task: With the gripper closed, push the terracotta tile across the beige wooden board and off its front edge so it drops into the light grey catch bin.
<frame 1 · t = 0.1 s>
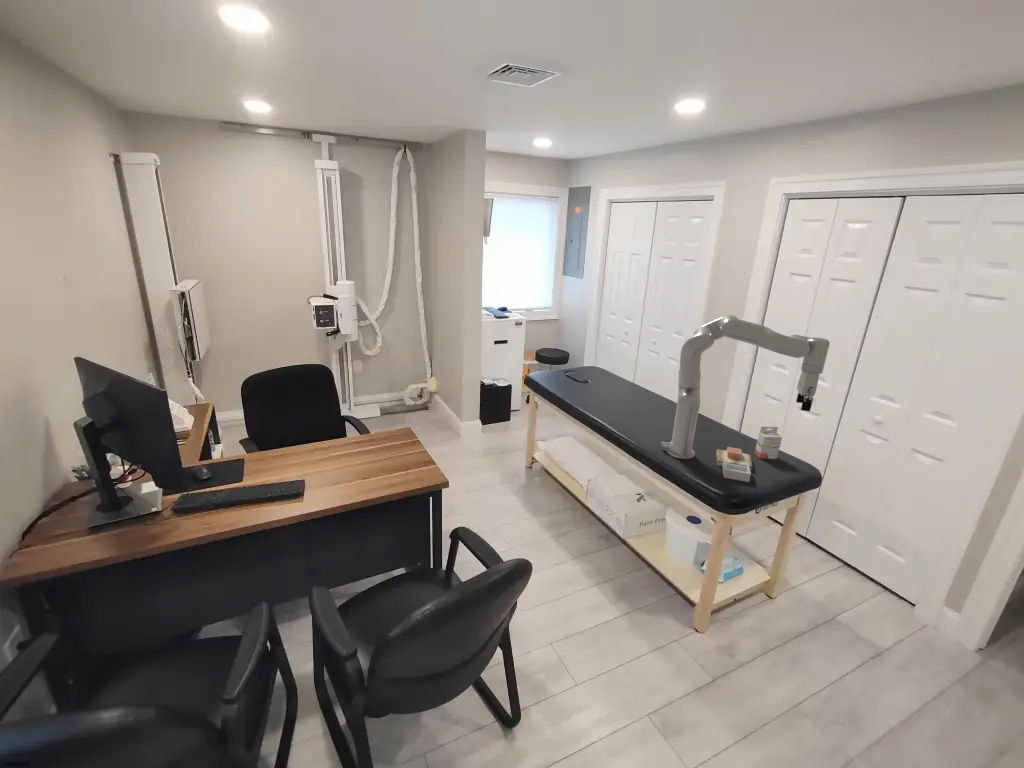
hand: (802, 406, 194), 31 cm above the table, fingers open, 9 cm apart
terracotta tile: (733, 455, 212), point 2 cm above the table, touching beige wooden board
beige wooden board: (733, 462, 211), on the table
catch bin: (735, 474, 201), on the table
ink cartridge box: (765, 457, 217), on the table
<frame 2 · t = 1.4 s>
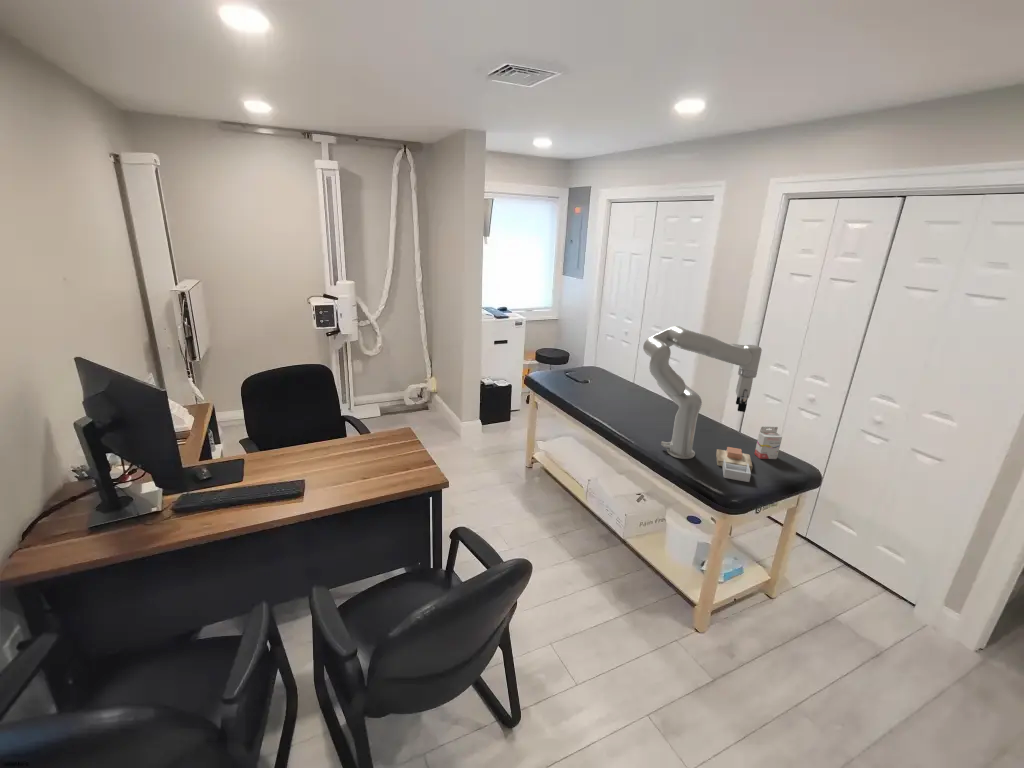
hand: (740, 407, 213), 23 cm above the table, fingers open, 8 cm apart
nothing on the table moved.
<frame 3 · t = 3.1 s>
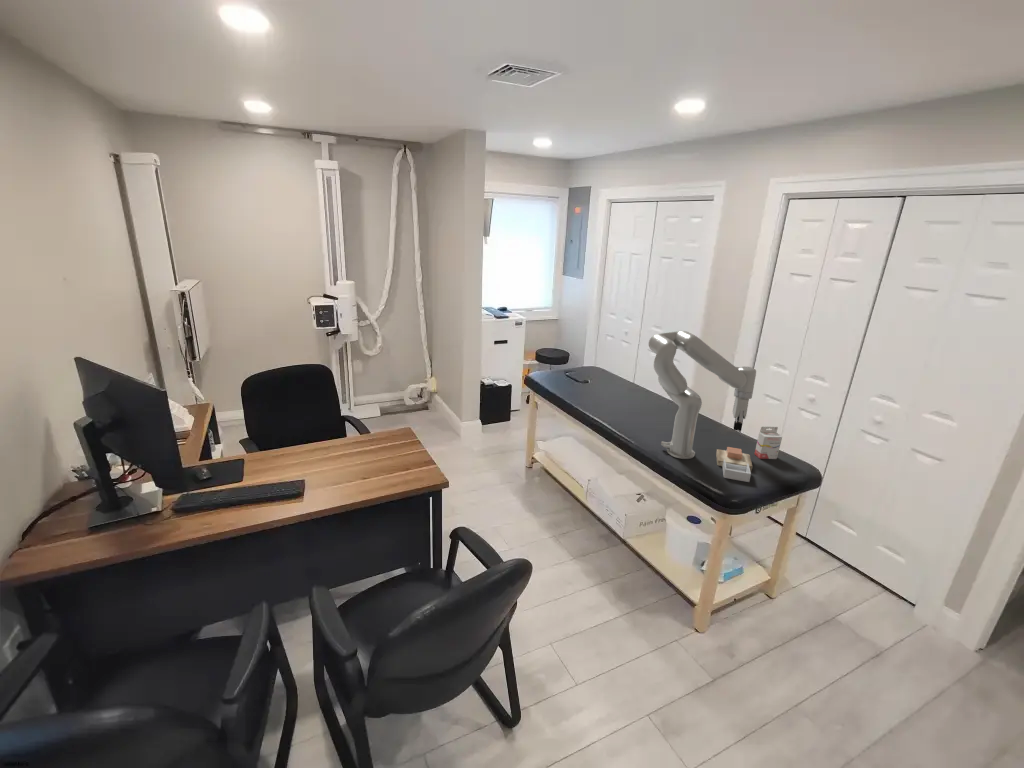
hand: (737, 429, 217), 12 cm above the table, fingers closed
nothing on the table moved.
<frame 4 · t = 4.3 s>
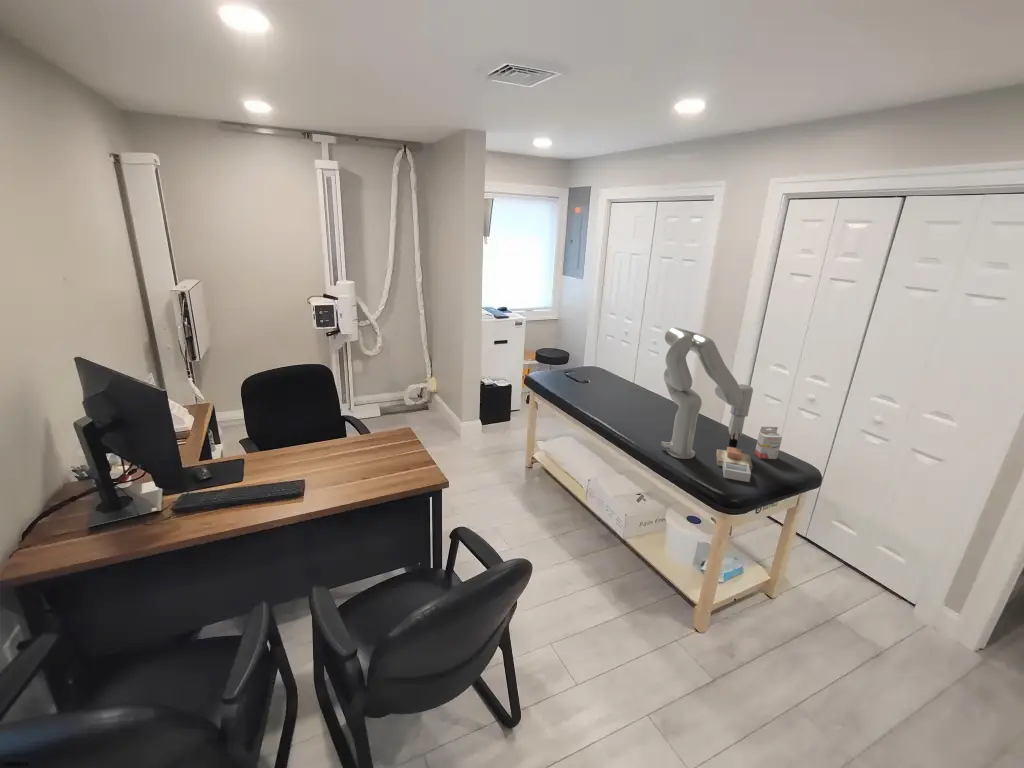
hand: (732, 446, 220), 3 cm above the table, fingers closed
nothing on the table moved.
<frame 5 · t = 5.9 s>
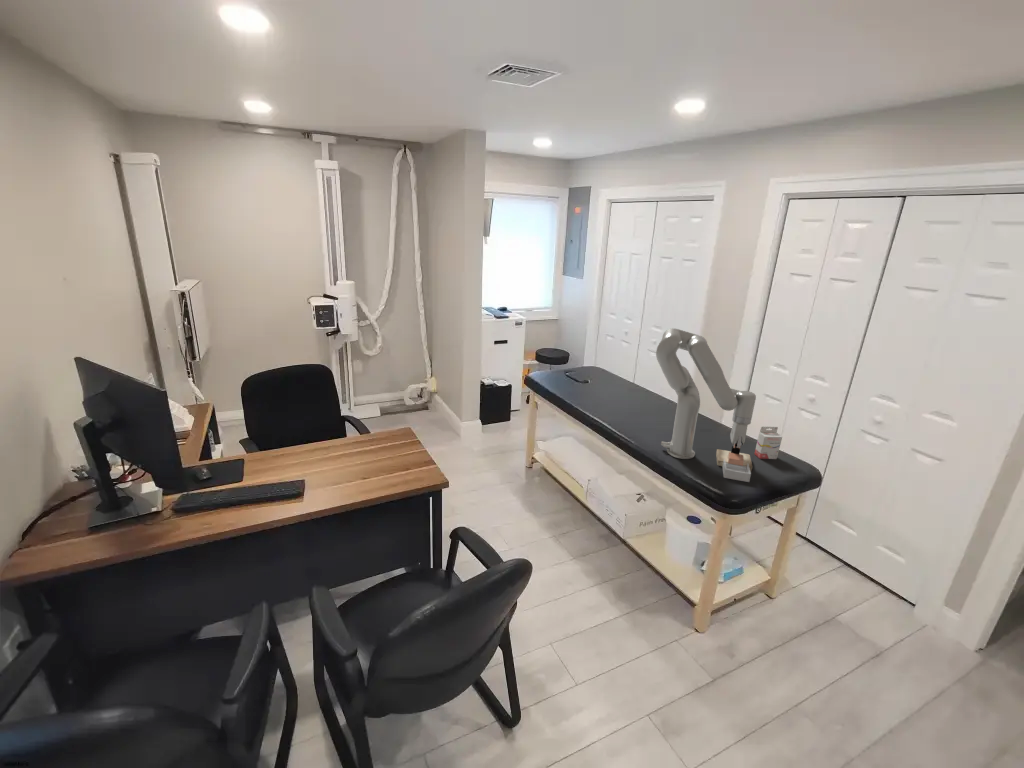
hand: (734, 455, 211), 3 cm above the table, fingers closed
terracotta tile: (735, 461, 207), point 3 cm above the table, touching gripper
everything else where it was.
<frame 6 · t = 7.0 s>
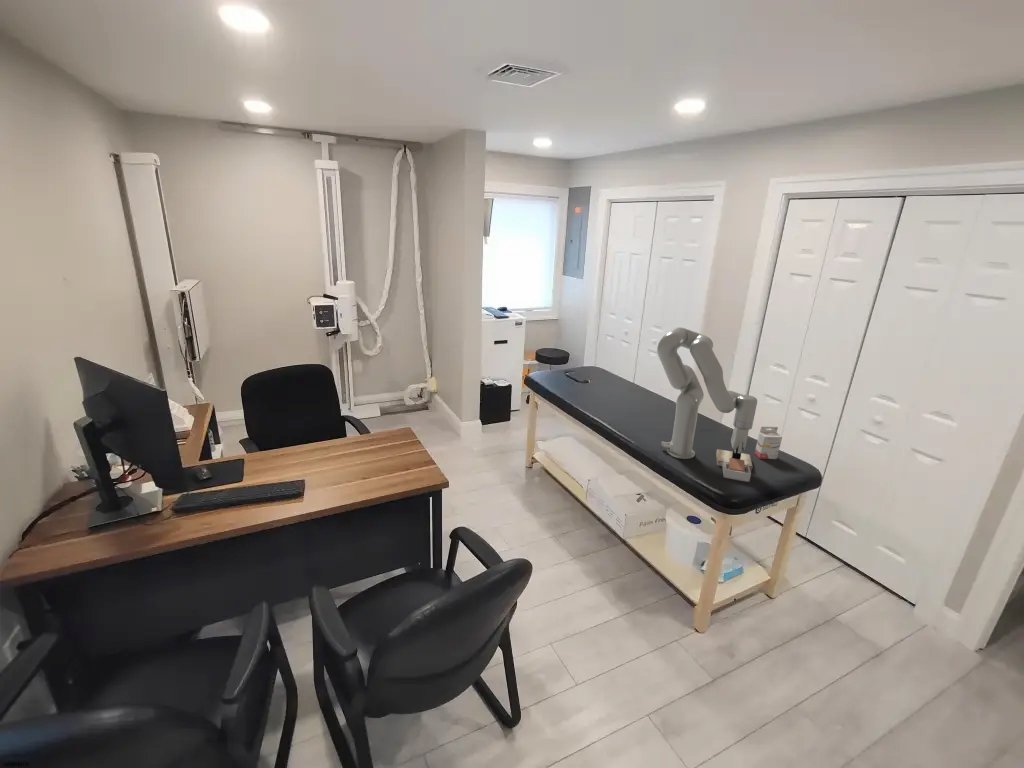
hand: (735, 460, 206), 3 cm above the table, fingers closed
terracotta tile: (735, 467, 203), point 2 cm above the table, tilted 23°, touching catch bin, gripper
everything else where it was.
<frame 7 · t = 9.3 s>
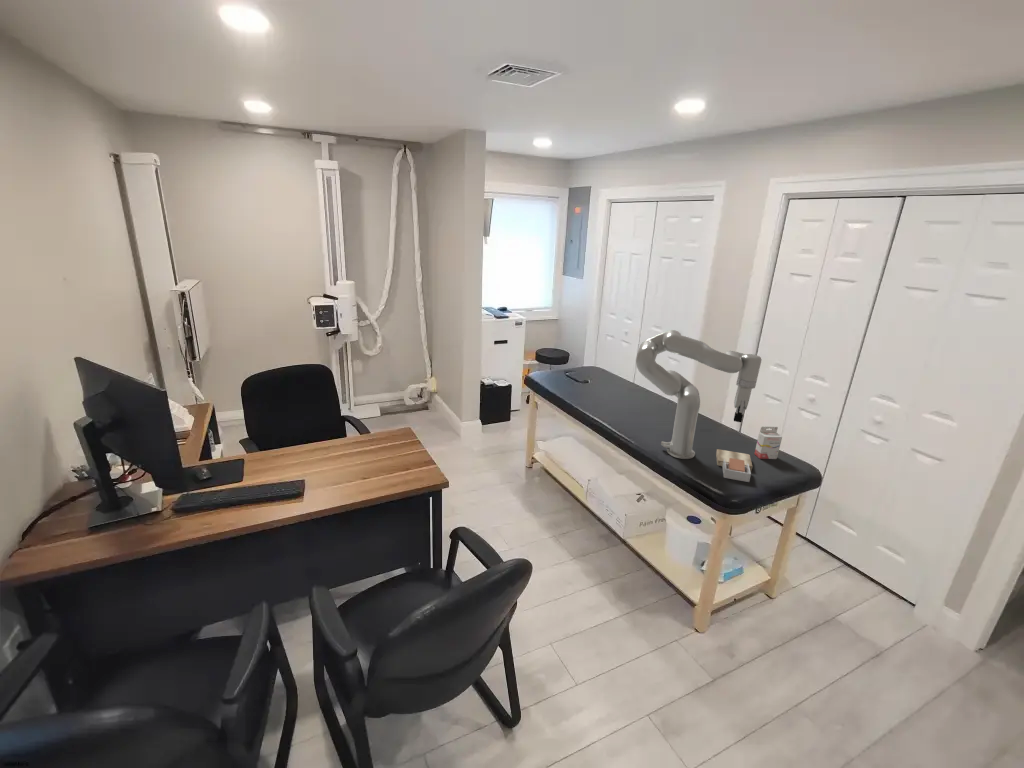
hand: (737, 421, 206), 20 cm above the table, fingers closed
terracotta tile: (735, 467, 203), point 2 cm above the table, tilted 22°, touching catch bin
everything else where it was.
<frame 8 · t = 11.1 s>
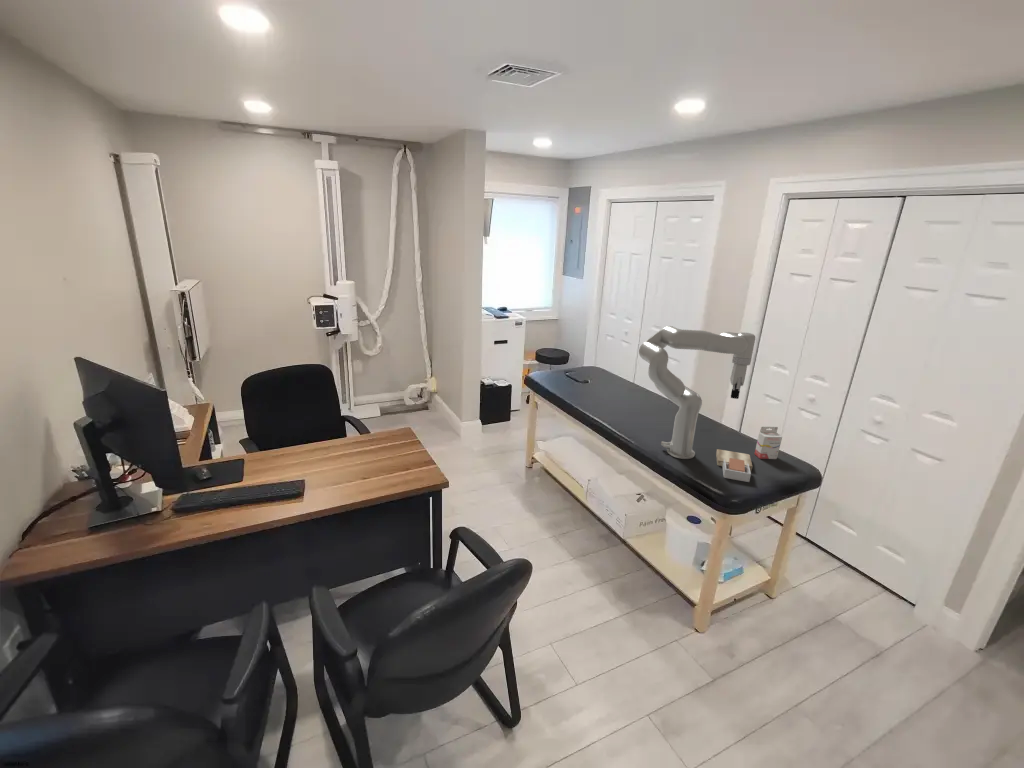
hand: (734, 397, 214), 27 cm above the table, fingers closed
nothing on the table moved.
at the end: terracotta tile inside the target area on the catch bin (3.0 cm from its centre), point 1.6 cm above the catch bin's base; the gripper is holding nothing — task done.
